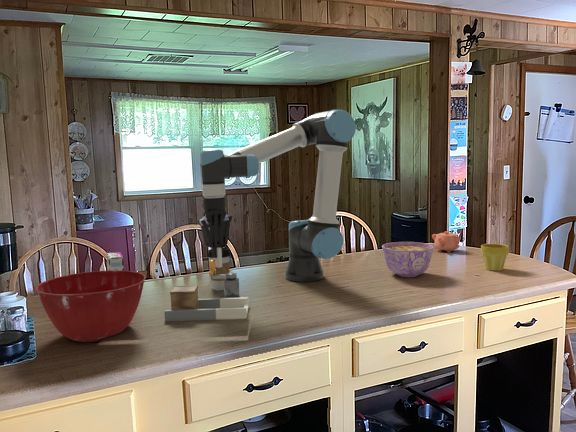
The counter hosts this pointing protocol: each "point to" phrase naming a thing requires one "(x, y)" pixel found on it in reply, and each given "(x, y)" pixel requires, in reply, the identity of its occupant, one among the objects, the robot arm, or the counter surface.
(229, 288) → the winch
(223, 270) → the coffee cup
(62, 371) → the counter surface
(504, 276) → the counter surface
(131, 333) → the counter surface
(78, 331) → the mixing bowl
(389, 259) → the bowl of food
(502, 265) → the plant pot
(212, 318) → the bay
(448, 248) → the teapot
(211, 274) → the crank
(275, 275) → the counter surface
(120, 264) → the candy bar box
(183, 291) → the crate
